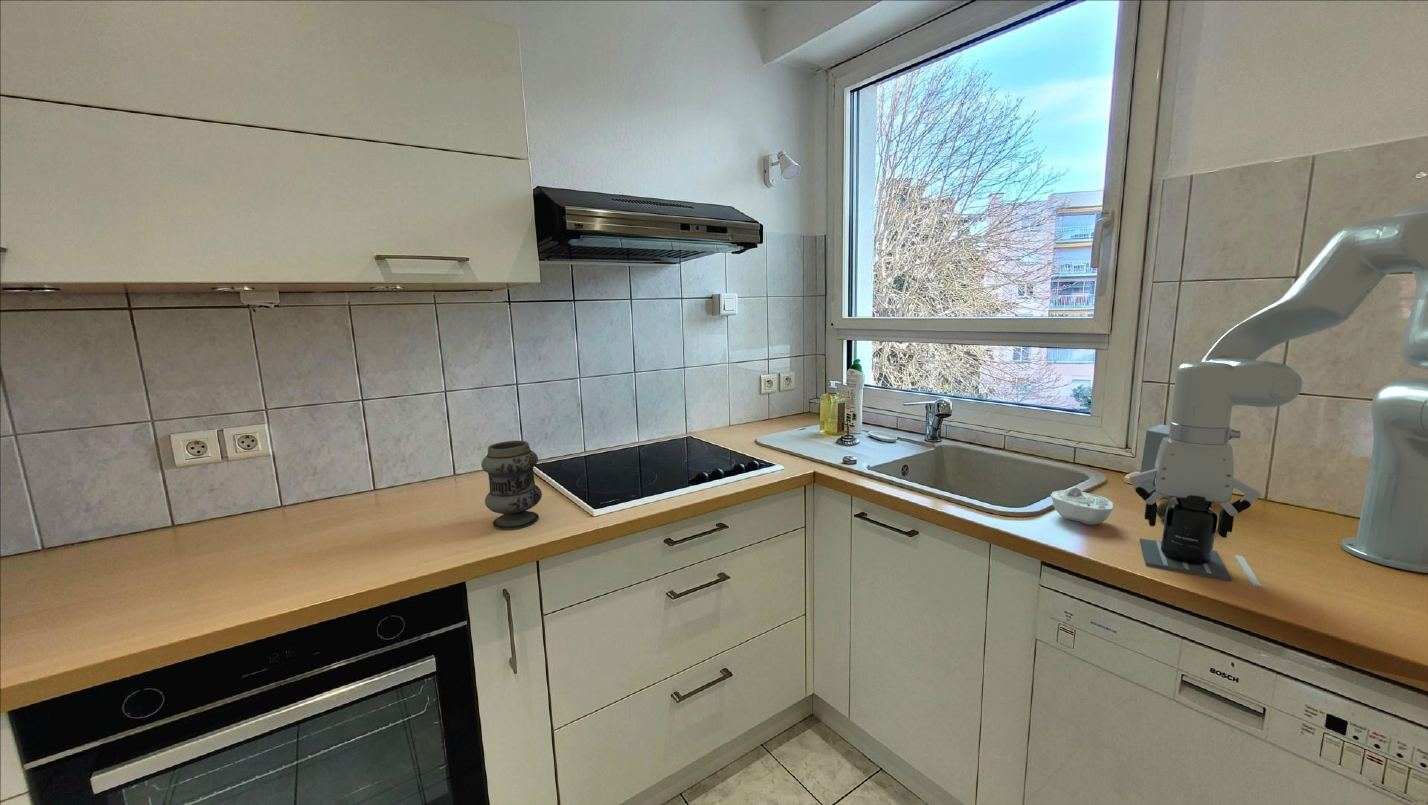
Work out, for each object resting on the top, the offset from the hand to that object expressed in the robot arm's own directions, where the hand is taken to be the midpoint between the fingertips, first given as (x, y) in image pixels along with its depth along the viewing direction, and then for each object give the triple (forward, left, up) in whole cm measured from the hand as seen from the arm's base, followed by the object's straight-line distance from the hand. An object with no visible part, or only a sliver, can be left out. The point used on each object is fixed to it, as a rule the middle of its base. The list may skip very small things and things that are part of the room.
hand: (1185, 529), depth 95 cm
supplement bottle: (0, 0, -5) cm, 5 cm away
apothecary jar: (+121, +50, -6) cm, 131 cm away
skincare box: (-1, -42, -6) cm, 42 cm away
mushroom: (-2, -21, -6) cm, 22 cm away
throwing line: (-8, 0, -6) cm, 10 cm away
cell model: (+15, -12, -6) cm, 20 cm away
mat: (0, 0, -6) cm, 6 cm away
